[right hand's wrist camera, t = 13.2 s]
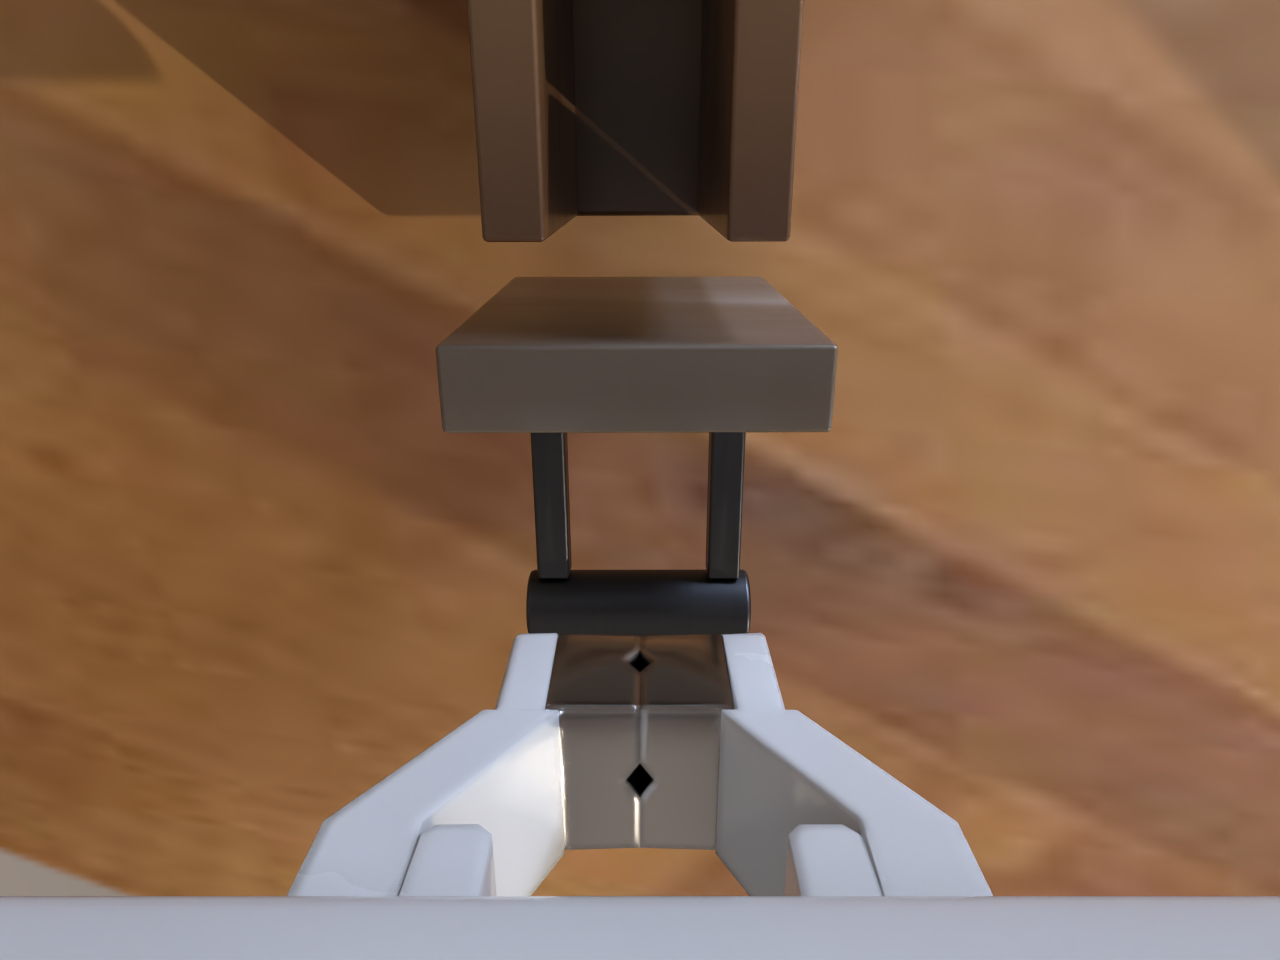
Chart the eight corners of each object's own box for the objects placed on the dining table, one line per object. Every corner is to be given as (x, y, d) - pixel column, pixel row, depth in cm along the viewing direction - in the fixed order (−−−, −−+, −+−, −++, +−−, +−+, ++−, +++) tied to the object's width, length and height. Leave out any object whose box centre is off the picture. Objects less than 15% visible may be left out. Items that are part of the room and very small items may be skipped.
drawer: (749, 554, 20) (806, 755, 13) (528, 554, 20) (470, 755, 13) (805, -606, 13) (984, -1447, 6) (465, -605, 13) (274, -1443, 6)
